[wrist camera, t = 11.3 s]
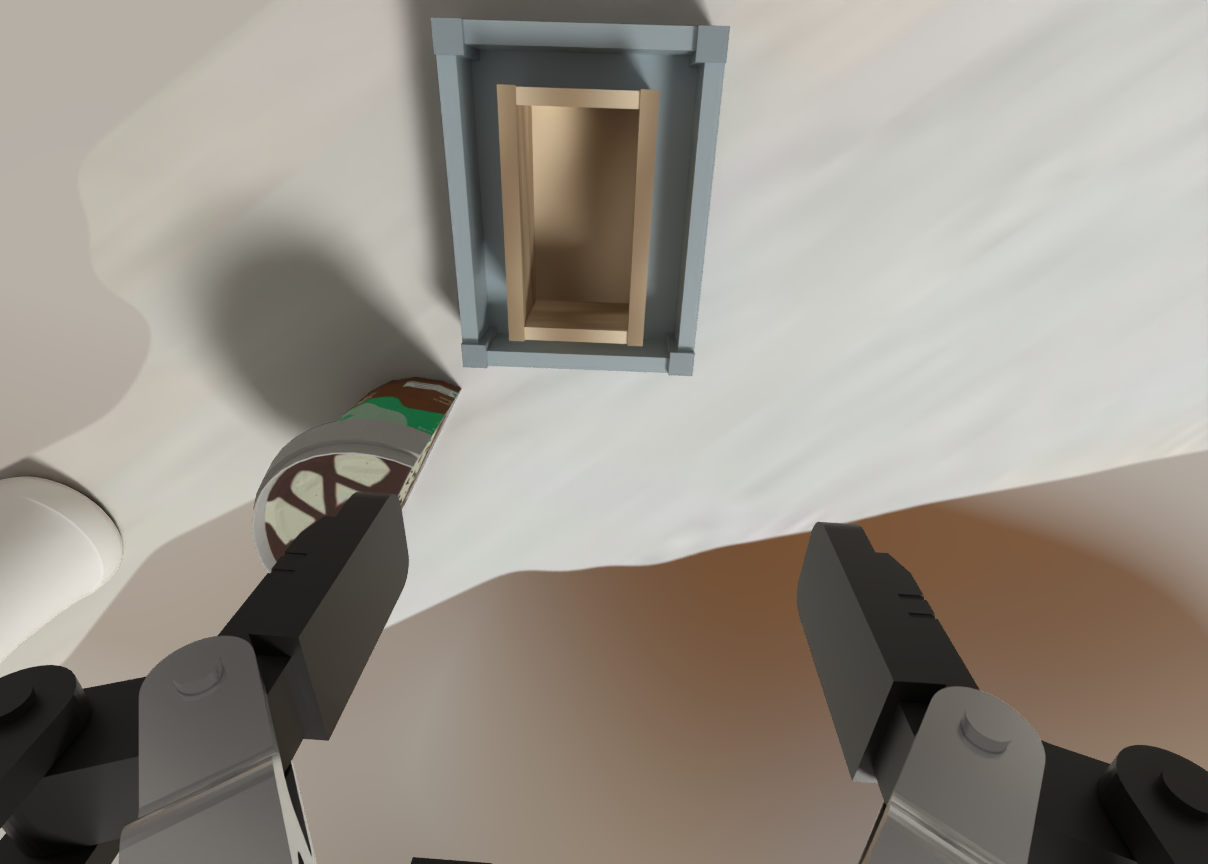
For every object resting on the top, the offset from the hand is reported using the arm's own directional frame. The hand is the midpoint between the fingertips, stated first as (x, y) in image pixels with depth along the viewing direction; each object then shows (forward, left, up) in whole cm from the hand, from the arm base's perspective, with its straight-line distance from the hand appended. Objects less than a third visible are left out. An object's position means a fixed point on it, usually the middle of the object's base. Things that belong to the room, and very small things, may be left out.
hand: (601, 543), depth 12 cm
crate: (+2, -3, -22) cm, 23 cm away
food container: (+14, +10, -23) cm, 28 cm away
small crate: (+2, -3, -22) cm, 22 cm away
